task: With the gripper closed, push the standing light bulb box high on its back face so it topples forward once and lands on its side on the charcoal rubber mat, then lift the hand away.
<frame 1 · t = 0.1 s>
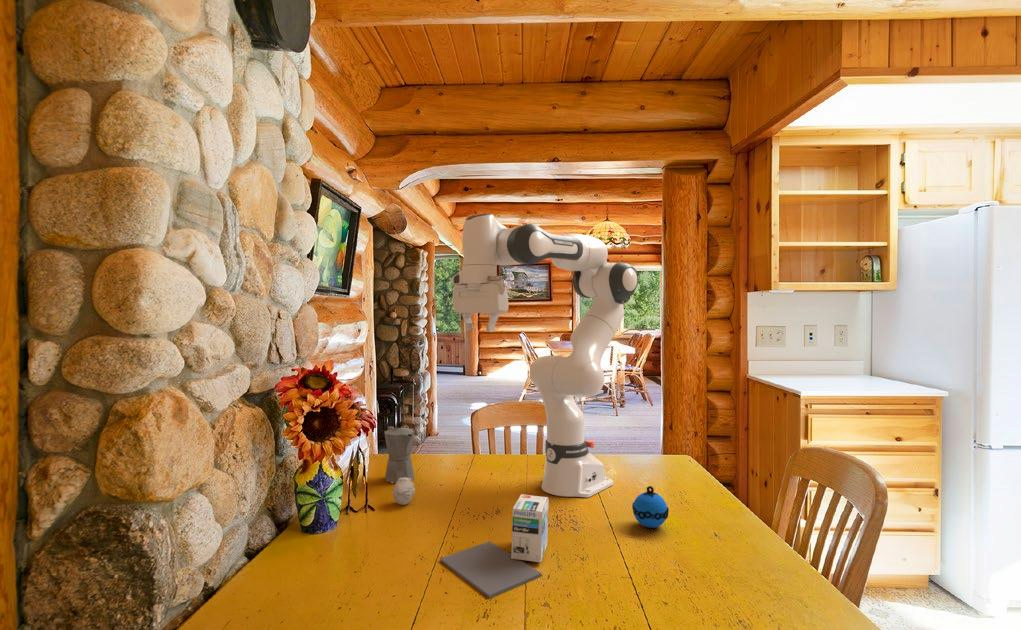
hand: (479, 330, 137), 48 cm above the table, tool pointing down, fingers open, 8 cm apart
coffeepot: (397, 478, 166), on the table
ornament: (650, 527, 131), on the table
light bulb box: (529, 552, 117), on the table, touching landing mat
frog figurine: (403, 504, 146), on the table
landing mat: (489, 568, 110), on the table
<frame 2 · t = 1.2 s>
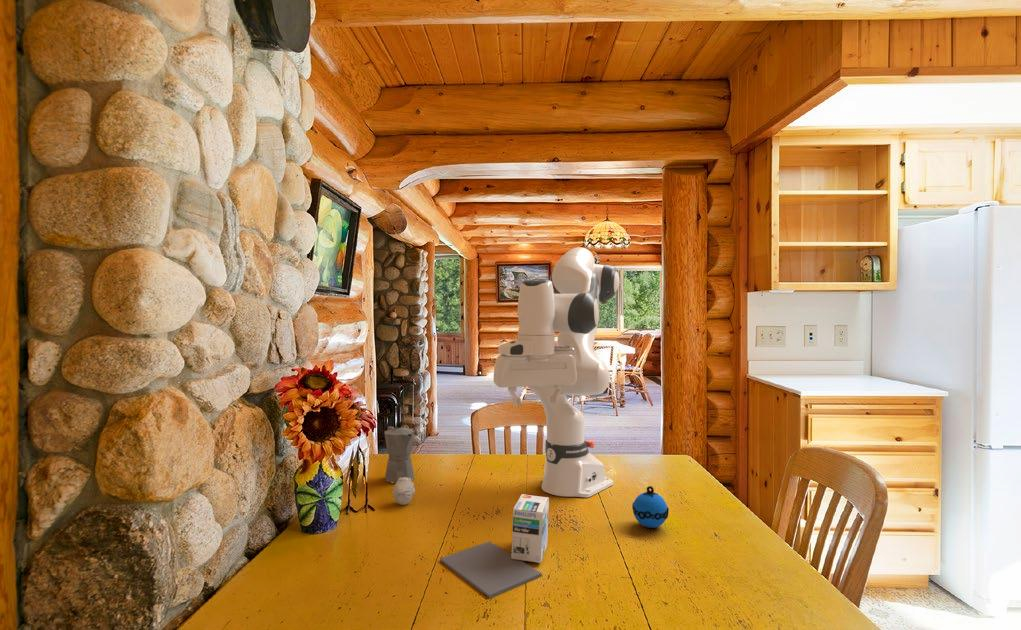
hand: (535, 404, 126), 31 cm above the table, tool pointing down, fingers open, 8 cm apart
nothing on the table moved.
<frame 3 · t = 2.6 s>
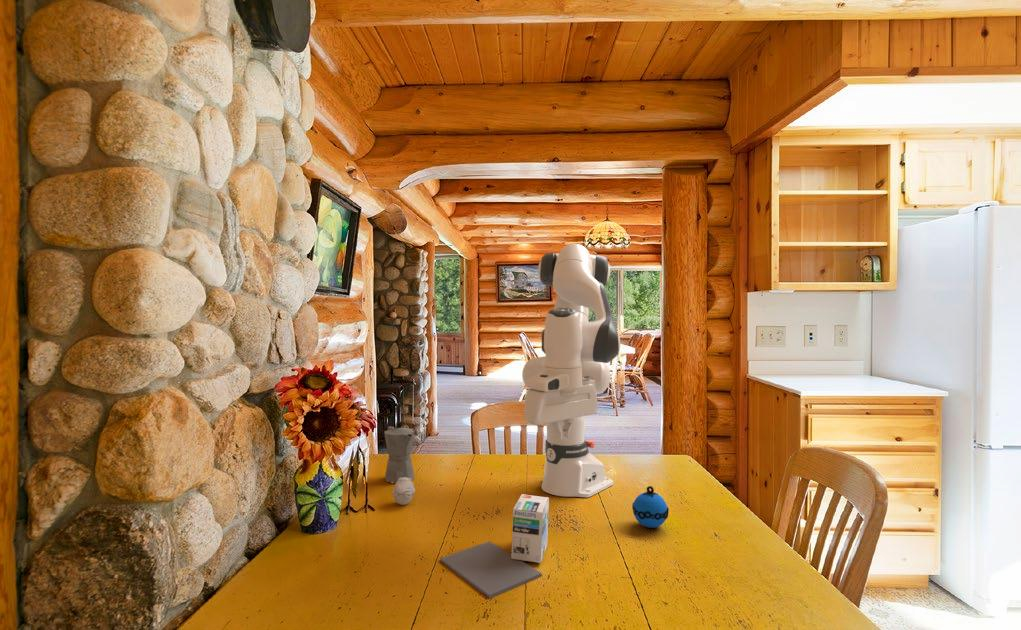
hand: (562, 438, 123), 24 cm above the table, tool pointing down, fingers closed
nothing on the table moved.
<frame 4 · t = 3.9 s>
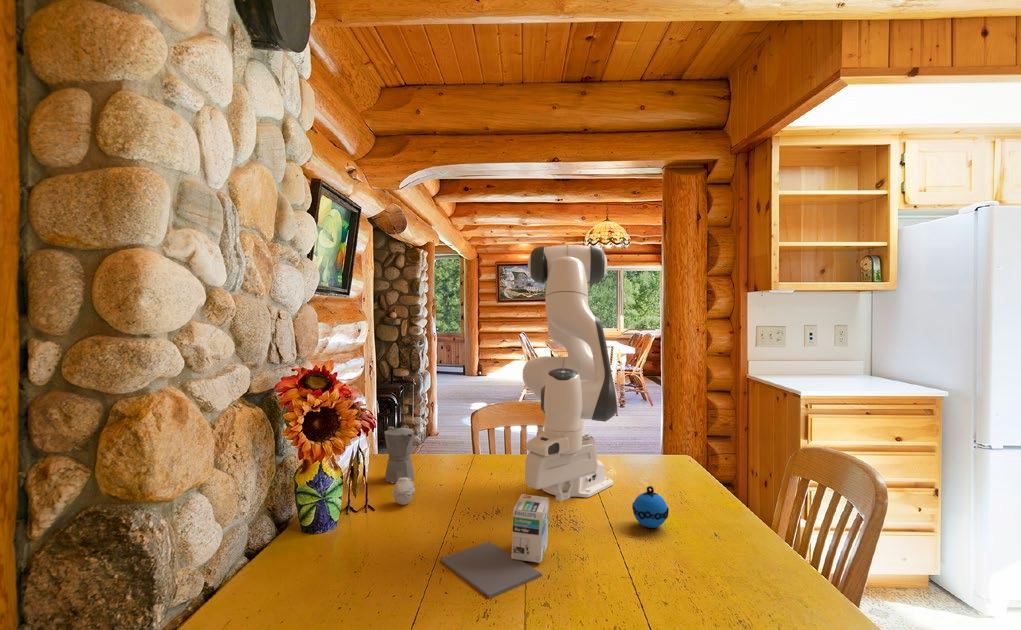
hand: (562, 499, 123), 10 cm above the table, tool pointing down, fingers closed
nothing on the table moved.
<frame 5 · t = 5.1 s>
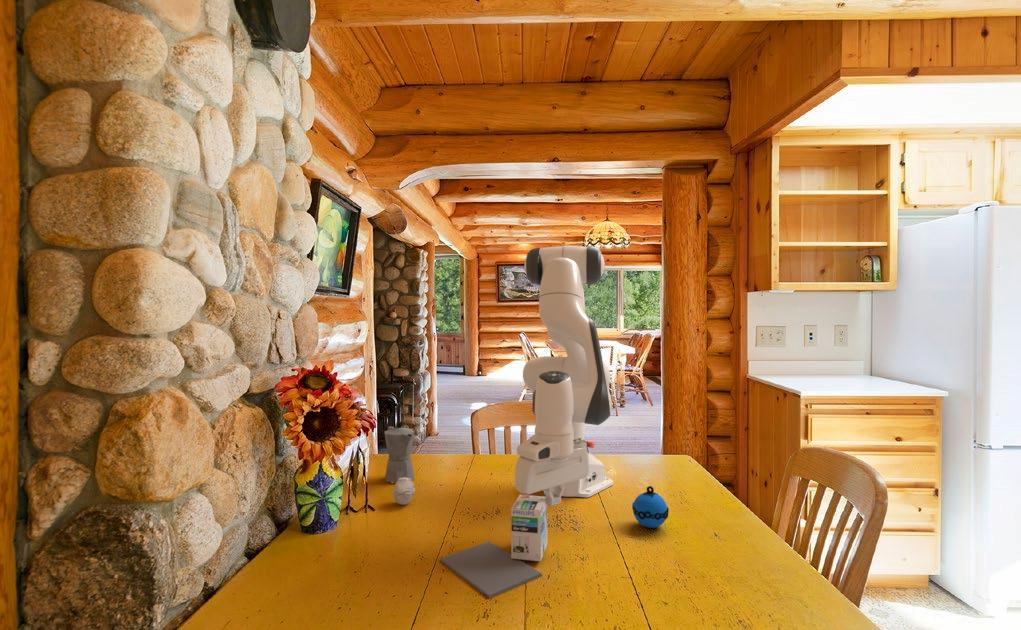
hand: (553, 504, 121), 9 cm above the table, tool pointing down, fingers closed
light bulb box: (529, 552, 117), on the table, touching gripper, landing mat
everything else where it was.
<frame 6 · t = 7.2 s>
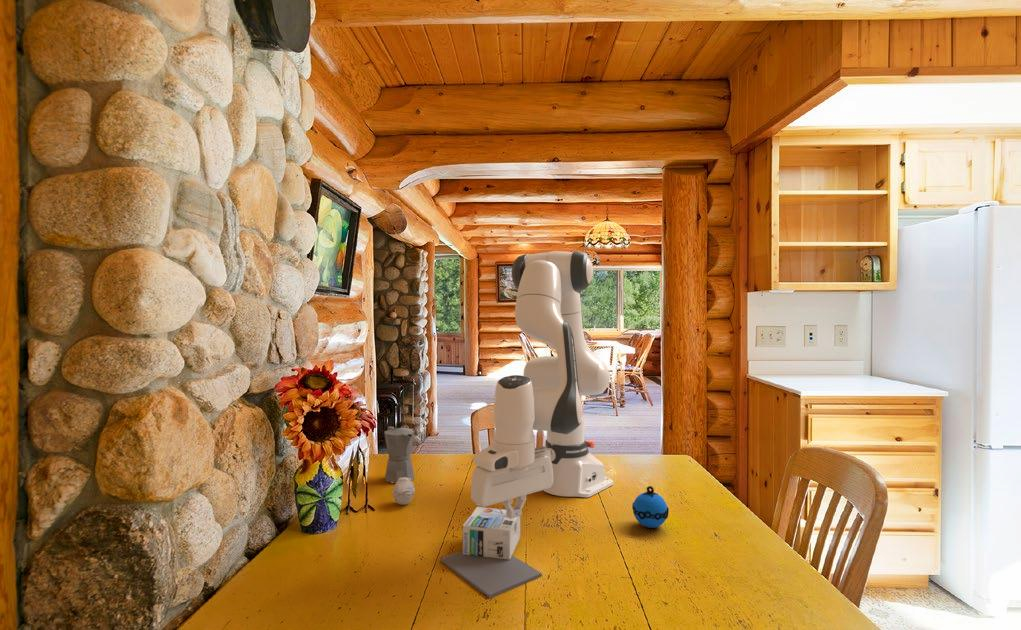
hand: (514, 516, 114), 9 cm above the table, tool pointing down, fingers closed
light bulb box: (516, 534, 117), point 4 cm above the table, touching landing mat
everything else where it was.
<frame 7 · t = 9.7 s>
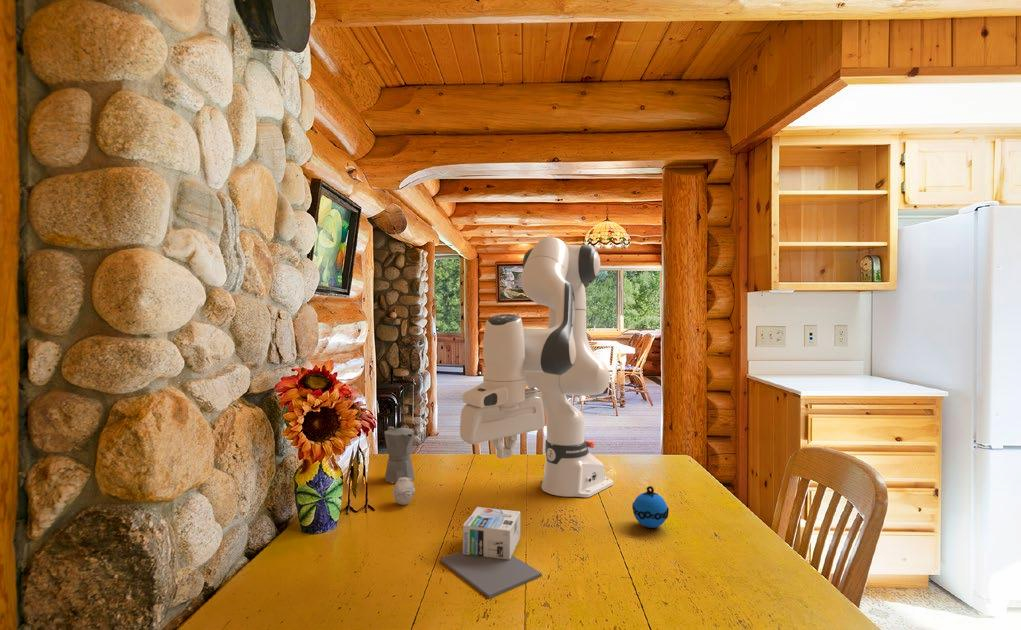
hand: (504, 456, 112), 23 cm above the table, tool pointing down, fingers closed
nothing on the table moved.
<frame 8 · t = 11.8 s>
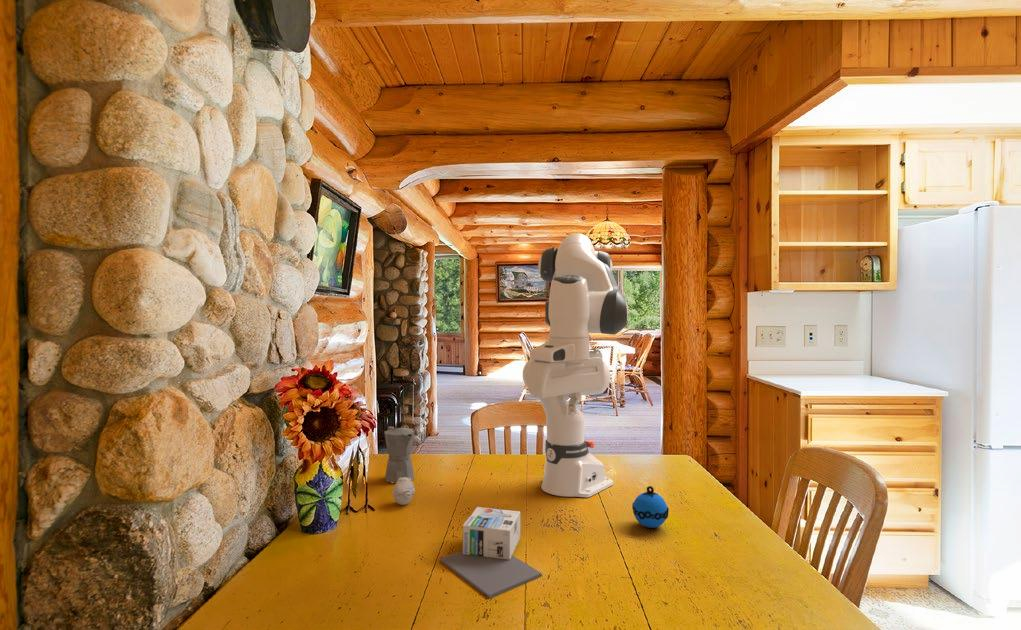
hand: (568, 413, 115), 31 cm above the table, tool pointing down, fingers closed
nothing on the table moved.
at the end: light bulb box tilted 89°; light bulb box touching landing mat; light bulb box inside the target area (5.3 cm from its centre), point 3.8 cm above the table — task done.
